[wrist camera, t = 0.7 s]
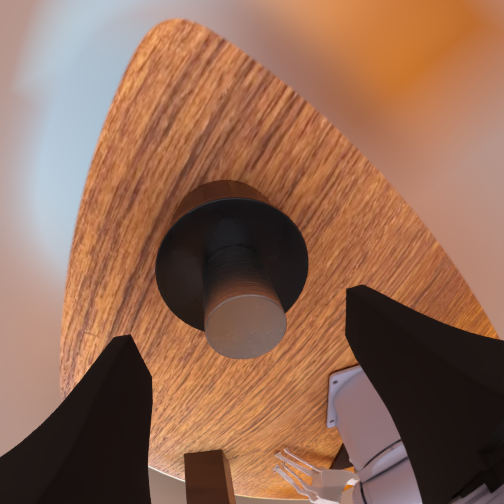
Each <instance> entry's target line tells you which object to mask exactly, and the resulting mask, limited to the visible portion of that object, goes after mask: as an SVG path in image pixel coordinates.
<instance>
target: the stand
mask: <svg viewBox="0 0 504 504" xmlns="http://www.w3.org/2000/svg"><path fill="white" fill-rule="evenodd" d="M184 463H185V483H186V498H187V504H236V502H235V496H234V490H233V484H232V477H231V471H230V465H229V463H228V461H227V459H226V457H225V455H224V453H223V451H222V450H217V451H209V452H201V453H192V454H184Z"/></svg>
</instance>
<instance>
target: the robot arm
mask: <svg viewBox="0 0 504 504" xmlns="http://www.w3.org/2000/svg"><path fill="white" fill-rule="evenodd" d="M345 336H346V338H347V340H348V343H349V345H350V347H351V349H352V352H353V354H354V356H355V358H356V360H357V361H358V363H359V365H358V366H354V367H351V368H348V369H345V370H342V371H339V372H335V373H333V374H331V375H330V377H329V393H328V409H327V422H326V425H327V427H328V428H332V427H335V426H336V427H337V429H338V431H339V434H340V436H341V438H342V441H343V443H344V445H345V448H346V450H347V452H348V455H349V457H350V459H351V462H352V464H353V465H354V467H355V468H356V469H357V470H358V472H357V473H358V475H359V478H360V481H358V482H356V484H355V486H354V490H353V494H352V497H353V503H354V504H504V341H503V340H498V339H493V338H489V337H485V336H481V335H477V334H474V333H470V332H467V331H464V330H461V329H458V328H455V327H452V326H450V325H447V324H444V323H442V322H440V321H437V320H435V319H433V318H430V317H428V316H426V315H423V314H421V313H419V312H417V311H415V310H413V309H411V308H409V307H407V306H405V305H403V304H401V303H399V302H397V301H395V300H393V299H391V298H389V297H387V296H385V295H383V294H381V293H380V292H378V291H376V290H374V289H372V288H369V287H367V286H365V285H359V286H355V287H351V288H348V289H346V327H345ZM152 404H153V397H152V376H151V374H150V372H149V370H148V368H147V366H146V364H145V362H144V360H143V359H142V357H141V355H140V353H139V351H138V348H137V346H136V344H135V342H134V340H133V338H132V336H131V334H130V335H124V336H117V337H114V338H113V339H112V340H111V342H110V343H109V344H108V345H107V346H106V348H105V349H104V350H103V352H102V353H101V354H100V356H99V357H98V358H97V359H96V361H95V362H94V363H93V365H92V366H91V367H90V369H89V370H88V371H87V373H86V374H85V375H84V376H83V378H82V379H81V380H80V382H79V383H78V384H77V385H76V386H75V388H74V389H73V390H72V391H71V393H70V394H69V395H68V396H67V397H66V399H65V400H64V401H63V402H62V403H61V404H60V406H59V407H58V408H57V409H56V410H55V411H54V412H53V413H52V414H51V415H50V416H49V417H48V418H47V419H46V420H45V421H44V422H43V423H42V424H41V425H40V426H39V427H38V428H37V429H36V430H34V431H33V432H32V433H31V434H30V435H29V436H28V437H27V438H25V439H24V440H23V441H22V442H21V443H19V444H18V445H17V446H15V447H14V448H13V449H11V450H10V451H9V452H7V453H6V454H4V455H3V456H1V457H0V504H151V498H150V489H149V477H148V451H149V438H150V426H151V415H152Z"/></svg>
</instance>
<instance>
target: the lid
mask: <svg viewBox="0 0 504 504" xmlns="http://www.w3.org/2000/svg"><path fill="white" fill-rule="evenodd" d="M155 273H156V281H157V285H158V289H159V291H160V294H161V296H162V298H163V300H164V301H165V303H166V305H167V306H168V307H169V308H170V310H171V311H172V312H173V313H174V314H175V315H176V316H177V317H178V318H179V319H181V320H182V321H184V322H185V323H187V324H188V325H190V326H192V327H194V328H196V329H199V330H201V331H204V332H205V336H206V339H207V341H208V343H209V345H210V346H211V347H212V348H213V349H214V350H215V351H216V352H218V353H219V354H221V355H223V356H226V357H229V358H233V359H251V358H255V357H258V356H261V355H263V354H265V353H267V352H269V351H271V350H272V349H273V348H274V347H276V346H277V345H278V343H279V342H280V341H281V339H282V338H283V336H284V334H285V331H286V326H287V319H286V315H285V313H286V312H287V311H288V310H289V309H290V308H291V307H292V306H293V304H294V303H295V302H296V300H297V299H298V297H299V295H300V294H301V292H302V290H303V287H304V285H305V282H306V278H307V273H308V251H307V247H306V244H305V241H304V238H303V236H302V234H301V232H300V231H299V229H298V228H297V226H296V225H295V223H294V222H293V221H292V220H291V219H290V218H289V217H288V216H287V215H286V214H285V213H284V212H283V211H282V210H280V209H279V208H277V207H276V206H274V205H273V204H271V203H269V202H266V201H264V200H262V199H258V198H255V197H251V196H244V195H226V196H218V197H214V198H211V199H207V200H205V201H202V202H200V203H198V204H196V205H194V206H192V207H191V208H189V209H187V210H186V211H185V212H184V213H182V214H181V215H180V216H179V217H178V218H177V219H176V220H175V221H174V222H173V223H172V224H171V226H170V227H169V228H168V230H167V231H166V233H165V235H164V237H163V238H162V241H161V243H160V246H159V249H158V253H157V258H156V266H155Z"/></svg>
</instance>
